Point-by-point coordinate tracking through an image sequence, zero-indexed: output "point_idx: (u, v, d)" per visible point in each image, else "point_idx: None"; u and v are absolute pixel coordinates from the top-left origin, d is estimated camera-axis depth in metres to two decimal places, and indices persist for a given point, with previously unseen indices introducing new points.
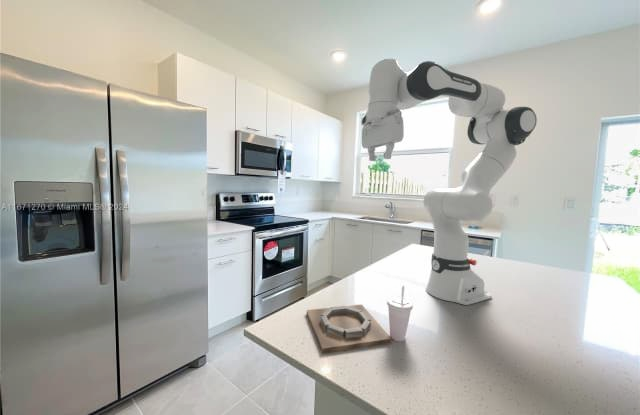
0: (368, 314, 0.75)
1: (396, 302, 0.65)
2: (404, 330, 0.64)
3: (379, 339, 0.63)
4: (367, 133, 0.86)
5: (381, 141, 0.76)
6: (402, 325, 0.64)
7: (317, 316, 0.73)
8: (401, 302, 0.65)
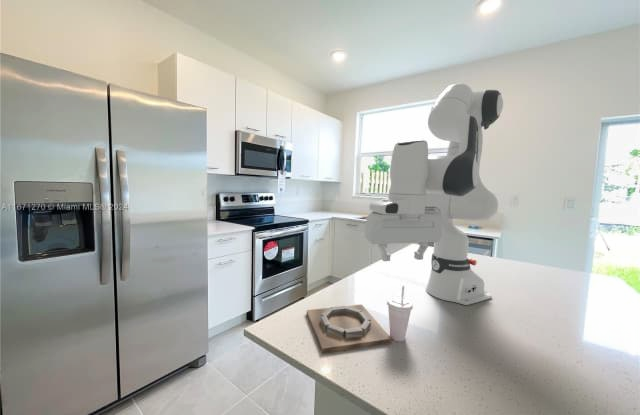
0: (368, 314, 0.75)
1: (396, 302, 0.65)
2: (404, 330, 0.64)
3: (379, 339, 0.63)
4: (385, 225, 0.60)
5: (421, 241, 0.63)
6: (402, 325, 0.64)
7: (317, 316, 0.73)
8: (401, 302, 0.65)
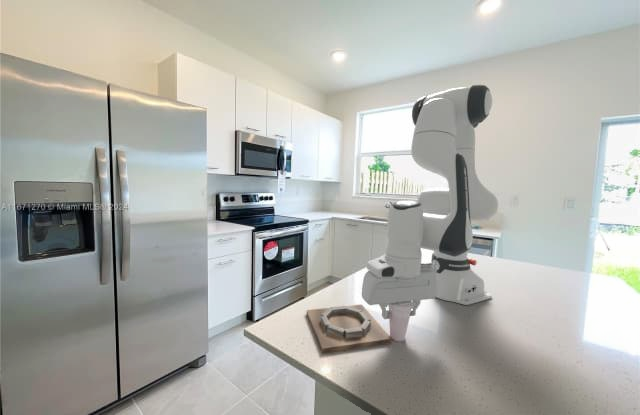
0: (368, 314, 0.75)
1: (396, 302, 0.65)
2: (404, 330, 0.64)
3: (379, 339, 0.63)
4: (381, 286, 0.62)
5: (417, 299, 0.65)
6: (402, 325, 0.64)
7: (317, 316, 0.73)
8: (401, 302, 0.65)
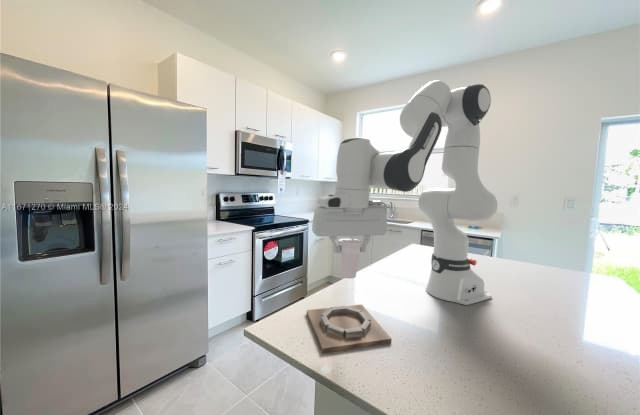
0: (368, 314, 0.75)
1: (346, 240, 0.67)
2: (353, 267, 0.66)
3: (379, 339, 0.63)
4: (329, 218, 0.64)
5: (366, 233, 0.67)
6: (351, 261, 0.65)
7: (317, 316, 0.73)
8: (351, 240, 0.67)
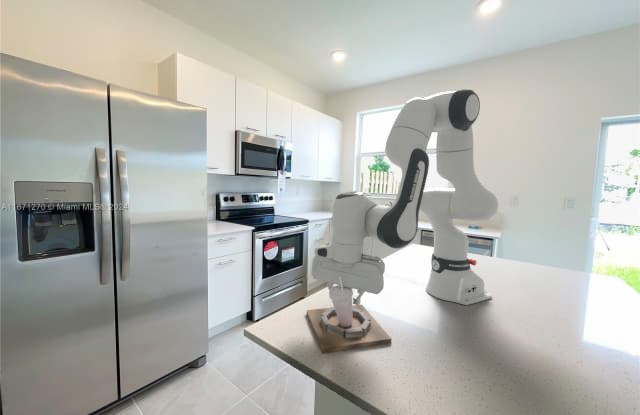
0: (368, 314, 0.75)
1: (336, 292, 0.67)
2: (348, 316, 0.67)
3: (379, 339, 0.63)
4: (323, 265, 0.71)
5: (356, 287, 0.66)
6: (344, 312, 0.66)
7: (317, 316, 0.73)
8: (341, 291, 0.67)
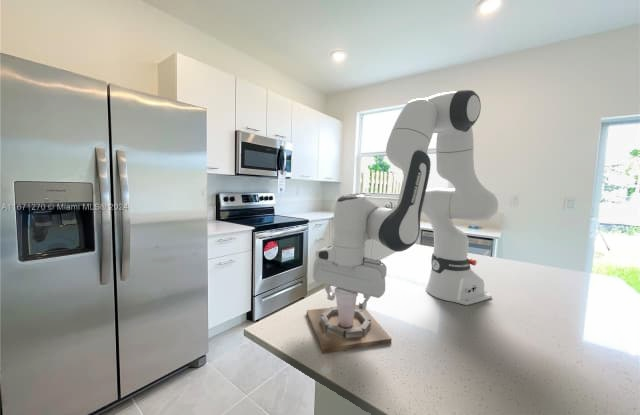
0: (368, 314, 0.75)
1: (342, 291, 0.68)
2: (350, 317, 0.67)
3: (379, 339, 0.63)
4: (324, 267, 0.70)
5: (357, 291, 0.65)
6: (347, 312, 0.67)
7: (317, 316, 0.73)
8: (347, 290, 0.68)
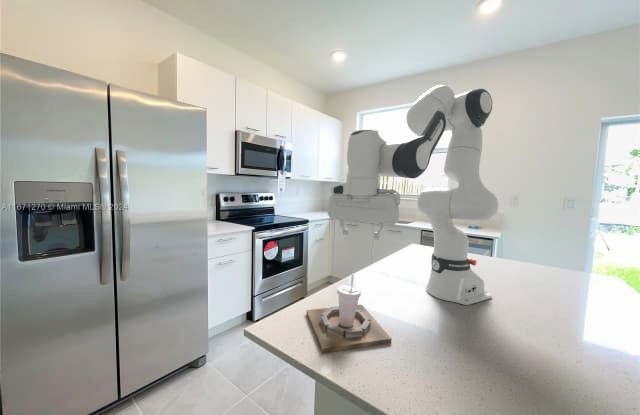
0: (368, 314, 0.75)
1: (345, 290, 0.68)
2: (351, 317, 0.67)
3: (379, 339, 0.63)
4: (339, 203, 0.73)
5: (372, 221, 0.69)
6: (349, 311, 0.67)
7: (317, 316, 0.73)
8: (350, 290, 0.68)
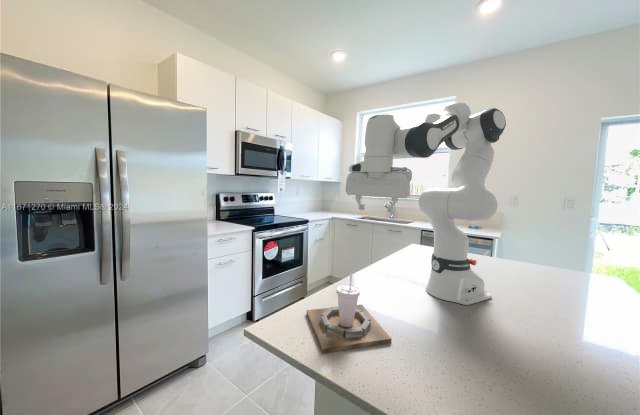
0: (368, 314, 0.75)
1: (344, 290, 0.68)
2: (351, 316, 0.68)
3: (379, 339, 0.63)
4: (356, 181, 0.82)
5: (386, 195, 0.77)
6: (348, 311, 0.67)
7: (317, 316, 0.73)
8: (349, 290, 0.68)
